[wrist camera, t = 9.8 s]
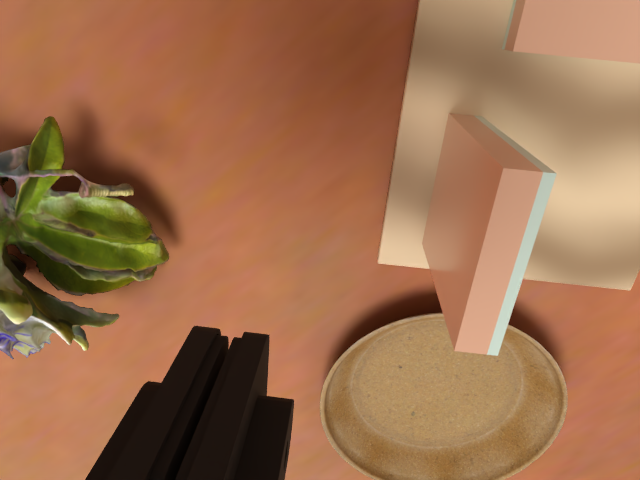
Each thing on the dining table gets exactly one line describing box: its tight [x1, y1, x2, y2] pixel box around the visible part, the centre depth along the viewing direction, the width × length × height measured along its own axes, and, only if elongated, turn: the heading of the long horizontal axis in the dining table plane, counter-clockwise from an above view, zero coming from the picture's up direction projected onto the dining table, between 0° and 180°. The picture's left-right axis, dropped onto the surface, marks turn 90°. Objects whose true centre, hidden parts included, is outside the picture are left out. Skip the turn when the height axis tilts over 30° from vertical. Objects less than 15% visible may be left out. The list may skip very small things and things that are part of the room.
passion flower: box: [0, 116, 169, 359], centre depth 23 cm, size 13×12×14 cm
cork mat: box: [377, 0, 640, 290], centre depth 21 cm, size 20×14×1 cm
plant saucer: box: [320, 313, 568, 480], centre depth 29 cm, size 15×15×3 cm
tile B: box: [422, 113, 557, 356], centre depth 19 cm, size 7×2×9 cm, turn 175°
